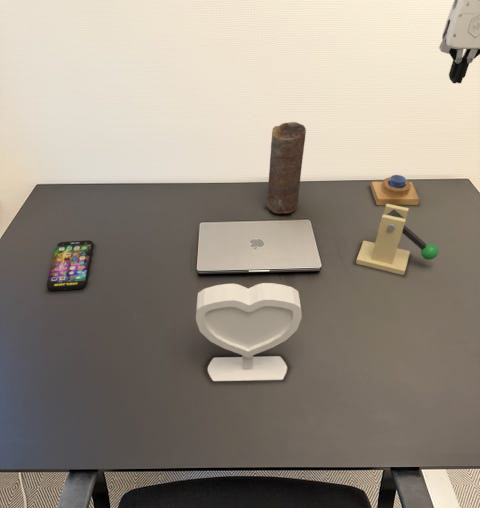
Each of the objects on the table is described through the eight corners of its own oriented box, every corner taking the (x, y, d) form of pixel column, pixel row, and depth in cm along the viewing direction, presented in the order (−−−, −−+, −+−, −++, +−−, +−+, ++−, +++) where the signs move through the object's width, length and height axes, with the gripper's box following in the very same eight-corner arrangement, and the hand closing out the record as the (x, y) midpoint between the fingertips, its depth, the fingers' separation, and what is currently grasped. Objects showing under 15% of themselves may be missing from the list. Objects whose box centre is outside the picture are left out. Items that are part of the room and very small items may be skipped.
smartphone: (93, 239, 103) (85, 285, 93) (94, 243, 104) (86, 289, 94) (57, 242, 103) (44, 288, 92) (58, 245, 103) (46, 291, 93)
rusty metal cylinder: (302, 214, 112) (311, 132, 97) (274, 220, 110) (279, 138, 95) (289, 198, 116) (296, 117, 102) (261, 203, 115) (265, 122, 100)
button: (402, 181, 116) (403, 174, 115) (405, 189, 114) (407, 182, 112) (387, 181, 116) (389, 174, 115) (390, 188, 114) (392, 182, 112)
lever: (429, 256, 97) (442, 247, 95) (427, 265, 95) (440, 257, 93) (383, 216, 95) (395, 206, 92) (381, 224, 93) (393, 215, 90)
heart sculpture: (201, 381, 78) (193, 304, 65) (202, 357, 82) (195, 280, 69) (294, 379, 78) (305, 302, 65) (291, 356, 82) (300, 278, 69)
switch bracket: (408, 255, 101) (424, 208, 92) (403, 275, 97) (419, 227, 88) (362, 244, 104) (373, 198, 95) (355, 263, 99) (366, 216, 91)
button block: (409, 187, 120) (413, 175, 117) (417, 205, 114) (421, 192, 112) (370, 187, 120) (373, 175, 117) (376, 205, 114) (379, 192, 112)
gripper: (453, -16, 87) (425, 87, 101) (534, -16, 87) (495, 87, 100) (442, -25, 92) (416, 74, 106) (518, -25, 92) (483, 74, 106)
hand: (455, 80), depth 103 cm, fingers closed
